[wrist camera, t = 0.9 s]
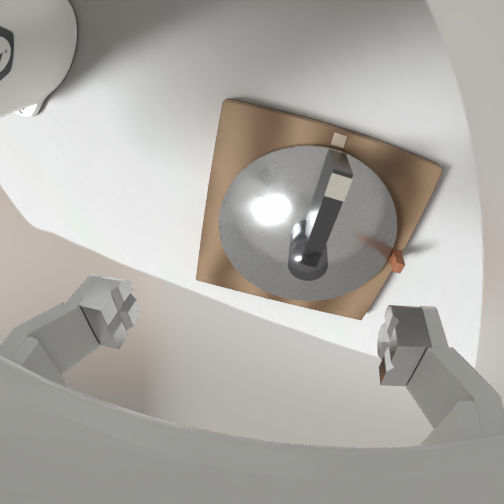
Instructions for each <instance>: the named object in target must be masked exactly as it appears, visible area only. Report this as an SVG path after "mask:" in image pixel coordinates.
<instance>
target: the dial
mask: <svg viewBox="0 0 504 504" xmlns="http://www.w3.org/2000/svg"><path fill="white" fill-rule="evenodd" d="M218 225H219V235H220V240H221V243H222V246H223V249H224V251H225V253H226V255H227V257H228V259H229V260H230V262H231V263H232V265H233V266H234V267H235V269H236V270H237V271H238V272H239V273H240V274H241V275H242V276H243V277H244V278H246V279H247V280H248V281H249V282H251V283H252V284H253V285H255V286H256V287H258V288H260V289H262V290H264V291H266V292H268V293H271V294H273V295H276V296H279V297H282V298H286V299H292V300H300V301H319V300H327V299H331V298H336V297H339V296H342V295H345V294H347V293H350V292H352V291H354V290H356V289H358V288H359V287H361V286H363V285H364V284H365V283H367V282H368V281H370V280H371V279H372V278H373V277H374V276H375V275H376V274H377V273H378V272H379V271H380V270H381V268H382V267H383V266H384V264H385V263H386V261H387V260H388V258H389V256H390V254H391V252H392V250H393V247H394V243H395V240H396V234H397V216H396V210H395V206H394V203H393V200H392V197H391V195H390V193H389V192H388V190H387V188H386V186H385V184H384V183H383V181H382V180H381V179H380V177H379V176H378V175H377V174H376V173H375V172H374V171H373V170H372V169H371V168H370V167H369V166H368V165H367V164H365V163H364V162H363V161H361V160H360V159H358V158H356V157H355V156H353V155H351V154H349V153H347V152H344V151H342V150H339V149H336V148H332V147H328V146H323V145H313V144H303V145H292V146H287V147H282V148H279V149H276V150H273V151H270V152H268V153H266V154H264V155H262V156H260V157H258V158H257V159H255V160H254V161H252V162H251V163H249V164H248V165H247V166H246V167H245V168H244V169H242V170H241V171H240V172H239V174H238V175H237V176H236V177H235V178H234V180H233V181H232V183H231V184H230V186H229V188H228V189H227V191H226V193H225V196H224V198H223V201H222V203H221V207H220V211H219V221H218Z"/></svg>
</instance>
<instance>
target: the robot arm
mask: <svg viewBox="0 0 504 504" xmlns="http://www.w3.org/2000/svg"><path fill="white" fill-rule="evenodd" d="M76 42H77V23H76V18H75V14H74V11H73V8H72V6H71V4H70V3H69V1H68V0H0V117H3V116H5V115H8V114H10V113H16V114H19V115H22V116H25V117H28V118H29V117H33V116H35V115H37V114H38V112H39V110H40V108H41V106H42V104H43V102H44V100H45V98H46V97H47V96H48V95H49V94H50V93H52V92H53V91H54V90H55V89H56V88H57V87H58V86H59V84H60V83H61V82H62V80H63V79H64V77H65V76H66V74H67V72H68V70H69V68H70V65H71V63H72V60H73V56H74V53H75V48H76ZM132 290H133V289H132V286H131V283H130V282H129V281H128V280H124V279H118V278H113V277H107V276H100V275H94V274H93V275H90V276H89V277H88V278H87V279H86V280H85V281H84V282H83V283H82V284H81V286H80V287H79V288H78V289H77V291H76V292H75V293H74V294H73V295H72V296H71V298H70V299H69V300H68V301H67V303H61V304H59V305H57V306H55V307H53V308H52V309H50V310H48V311H46V312H44V313H42V314H40V315H38V316H36V317H34V318H33V319H31V320H29V321H27V322H25V323H23V324H21V325H20V326H18V327H16V328H14V329H13V330H12V332H11V333H10V334H9V335H8V337H7V338H6V339H5V340H4V342H3V343H2V344H1V346H0V504H504V408H503V404H502V400H501V396H500V395H499V394H498V393H497V392H496V391H495V390H494V389H493V388H492V386H491V385H490V384H489V383H488V382H486V380H485V379H484V378H483V377H482V376H481V375H480V374H479V373H478V372H477V371H476V370H475V369H474V368H473V367H472V366H471V365H470V364H469V363H468V362H467V361H466V360H465V359H464V358H463V357H462V356H461V355H460V354H459V353H458V352H457V351H456V350H455V349H454V348H449V347H448V343H447V340H446V336H445V333H444V330H443V326H442V323H441V320H440V317H439V314H438V311H437V309H436V307H426V306H420V307H418V306H394V305H389V306H388V307H387V309H386V312H385V321H386V322H385V323H384V324H383V325H381V328H380V331H379V336H378V348H377V349H378V356H379V357H380V358H381V359H382V361H381V363H380V366H379V373H380V385H391V386H406V387H407V389H408V391H409V392H410V393H411V395H412V397H413V398H414V400H415V401H416V402H417V404H418V405H419V407H420V409H421V410H422V412H423V413H424V414H425V416H426V417H427V419H428V421H429V422H430V424H431V425H432V426H433V428H434V430H433V431H432V432H431V434H429V436H428V437H427V438H426V439H425V440H424V441H423V442H422V443H421V445H420V446H405V447H372V448H371V447H367V448H366V447H331V446H313V445H302V444H291V443H282V442H273V441H265V440H258V439H252V438H246V437H239V436H234V435H228V434H223V433H217V432H212V431H208V430H203V429H198V428H194V427H190V426H185V425H181V424H177V423H173V422H169V421H166V420H162V419H158V418H155V417H151V416H148V415H144V414H141V413H138V412H134V411H131V410H128V409H125V408H122V407H119V406H116V405H113V404H110V403H107V402H105V401H102V400H99V399H96V398H94V397H91V396H88V395H86V394H83V393H80V392H78V391H75V390H73V389H71V388H68V382H67V381H66V380H65V378H64V377H63V376H62V374H63V373H64V372H66V371H67V370H68V369H70V368H71V367H72V366H73V365H75V364H76V363H78V362H79V361H80V360H82V359H83V358H84V357H86V356H87V355H88V354H90V353H91V352H92V351H94V350H95V349H96V348H98V347H99V346H100V345H103V346H107V347H111V348H116V349H120V347H121V346H122V344H123V342H124V341H125V339H126V337H127V335H128V334H127V329H129V328H131V327H132V326H133V325H134V324H135V322H136V320H137V316H138V312H139V310H138V303H137V300H136V299H135V298H134V297H133V296H132V295H131V292H132Z"/></svg>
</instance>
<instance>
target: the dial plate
mask: <svg viewBox="0 0 504 504" xmlns="http://www.w3.org/2000/svg"><path fill="white" fill-rule="evenodd" d="M303 144H313V145H323V146H328V147H332V148H336V149H339V150H342V151H344V152H347V153H349V154H351V155H353V156H355V157H356V158H358V159H360V160H361V161H363V162H364V163H365V164H367V165H368V166H369V167H370V168H371V169H372V170H373V171H374V172H375V173H376V174H377V175H378V176H379V177H380V179H381V180H382V181H383V183H384V184H385V186H386V188H387V190H388V192H389V193H390V195H391V197H392V200H393V203H394V206H395V210H396V216H397V234H396V240H395V243H394V247H393V250H392V252H391V254H390V256H389V258H388V260H387V261H386V263H385V264H384V266H383V267H382V268H381V270H380V271H379V272H378V273H377V274H376V275H375V276H374V277H373V278H372V279H371V280H370V281H368V282H367V283H365V284H364V285H363V286H361V287H359V288H358V289H356V290H354V291H352V292H350V293H347V294H345V295H342V296H339V297H336V298H331V299H327V300H319V301H300V300H292V299H286V298H282V297H279V296H276V295H273V294H271V293H268V292H266V291H264V290H262V289H260V288H258V287H256V286H255V285H253V284H252V283H251V282H249V281H248V280H247V279H246V278H244V277H243V276H242V275H241V274H240V273H239V272H238V271H237V270H236V269H235V267H234V266H233V265H232V263H231V262H230V260H229V259H228V257H227V255H226V253H225V251H224V249H223V246H222V243H221V240H220V235H219V225H218V221H219V211H220V207H221V203H222V201H223V198H224V196H225V193H226V191H227V189H228V188H229V186H230V184H231V183H232V181H233V180H234V178H235V177H236V176H237V175H238V174H239V172H240V171H241V170H242V169H244V168H245V167H246V166H247V165H248V164H249V163H251V162H252V161H254V160H255V159H257V158H258V157H260V156H262V155H264V154H266V153H268V152H270V151H273V150H276V149H279V148H282V147H287V146H292V145H303ZM442 170H443V169H442V168H441V167H440V166H439V165H438V164H436V163H434V162H432V161H429V160H427V159H425V158H422V157H420V156H417V155H415V154H413V153H410V152H408V151H405V150H403V149H400V148H397V147H395V146H392V145H390V144H387V143H384V142H381V141H379V140H376V139H373V138H370V137H367V136H365V135H362V134H359V133H356V132H353V131H350V130H347V129H343V128H340V127H337V126H334V125H331V124H327V123H324V122H321V121H317V120H314V119H310V118H307V117H303V116H299V115H296V114H292V113H288V112H284V111H280V110H276V109H272V108H268V107H263V106H259V105H254V104H250V103H245V102H240V101H235V100H230V99H226V100H224V101H223V103H222V109H221V114H220V120H219V125H218V131H217V137H216V143H215V149H214V155H213V161H212V167H211V173H210V180H209V186H208V193H207V200H206V206H205V213H204V221H203V228H202V235H201V243H200V251H199V259H198V267H197V275H196V280H198V281H202V282H206V283H209V284H213V285H217V286H221V287H225V288H228V289H232V290H236V291H240V292H244V293H248V294H252V295H256V296H260V297H264V298H268V299H272V300H276V301H280V302H284V303H288V304H292V305H297V306H301V307H305V308H309V309H314V310H318V311H322V312H327V313H331V314H336V315H340V316H344V317H349V318H354V319H358V320H362V318H363V317H364V315H365V314H366V312H367V311H368V309H369V307H370V306H371V304H372V303H373V301H374V299H375V298H376V296H377V294H378V293H379V291H380V290H381V288H382V286H383V285H384V283H385V281H386V279H387V278H388V276H389V274H390V273H391V271H393V272H397V273H401V271H402V269H403V268H404V266H405V263H404V261H403V258H402V255H401V253H402V251H403V249H404V248H405V246H406V244H407V242H408V240H409V238H410V236H411V235H412V233H413V231H414V229H415V227H416V225H417V223H418V221H419V219H420V217H421V215H422V213H423V211H424V209H425V207H426V205H427V203H428V201H429V199H430V197H431V194H432V192H433V190H434V188H435V186H436V184H437V181H438V179H439V177H440V175H441V173H442Z"/></svg>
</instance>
